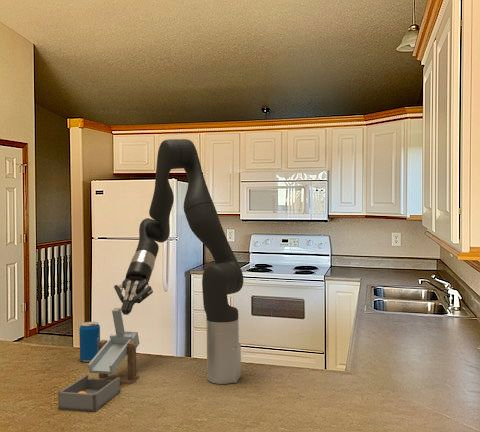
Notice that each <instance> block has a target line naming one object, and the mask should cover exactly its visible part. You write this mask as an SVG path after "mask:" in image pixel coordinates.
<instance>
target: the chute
mask: <svg viewBox="0 0 480 432" xmlns="http://www.w3.org/2000/svg"><path fill="white" fill-rule="evenodd" d="M111 314H112V319H113V325H114V330H115V334H110V335H109V339H107V343H106V344H105V345H104V346H103V347H102V349H101V350H100V351H99V352H98V353H97V354H96V356H95V357H94V358H93V359H92V360H91V362H88V370H89V371H88V372H89V373H90V374H99V373H101V374H114V373H115V372H116V370H117V369H118V368H119V367H120V365H121V364H122V362H123V360H125V358H126V357H127V343H129V342H130V341H136V344H137V347H138V346H139V345H140V337H139V333H138V331H126V330H125V325H124V321H123V315H122V314H123V313H122V311H121V307H114V308H113V309H112V310H111Z"/></svg>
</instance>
